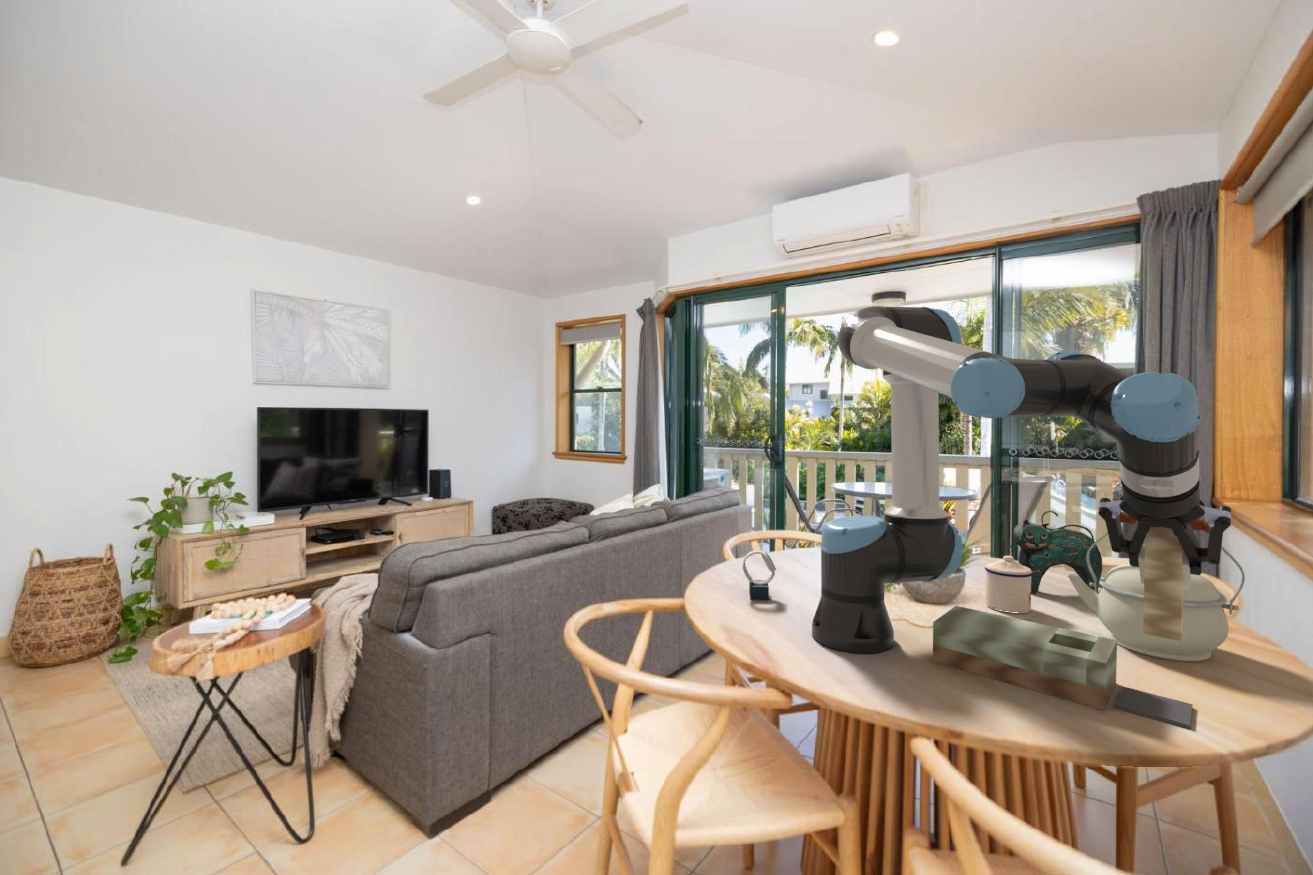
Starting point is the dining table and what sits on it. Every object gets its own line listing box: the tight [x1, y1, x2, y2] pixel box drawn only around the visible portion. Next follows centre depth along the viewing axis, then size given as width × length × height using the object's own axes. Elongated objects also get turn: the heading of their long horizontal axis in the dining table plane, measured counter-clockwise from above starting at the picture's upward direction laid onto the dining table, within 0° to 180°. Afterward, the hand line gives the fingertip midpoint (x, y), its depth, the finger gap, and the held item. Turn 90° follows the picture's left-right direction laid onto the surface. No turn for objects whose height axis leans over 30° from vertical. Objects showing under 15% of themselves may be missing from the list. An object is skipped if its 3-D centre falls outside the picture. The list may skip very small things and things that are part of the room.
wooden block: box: [1143, 527, 1183, 641], centre depth 82 cm, size 4×4×16 cm
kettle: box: [1066, 510, 1246, 663], centre depth 106 cm, size 25×18×25 cm
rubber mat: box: [1115, 686, 1193, 730], centre depth 83 cm, size 8×8×1 cm
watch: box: [742, 549, 777, 601], centre depth 136 cm, size 6×8×11 cm
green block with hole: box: [932, 605, 1118, 711], centre depth 95 cm, size 24×12×7 cm, turn 45°
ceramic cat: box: [1012, 510, 1103, 594], centre depth 139 cm, size 20×6×20 cm, turn 88°
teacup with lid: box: [984, 555, 1033, 614], centre depth 128 cm, size 12×9×12 cm
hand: (1165, 579), depth 84 cm, fingers closed on wooden block, 4 cm apart
